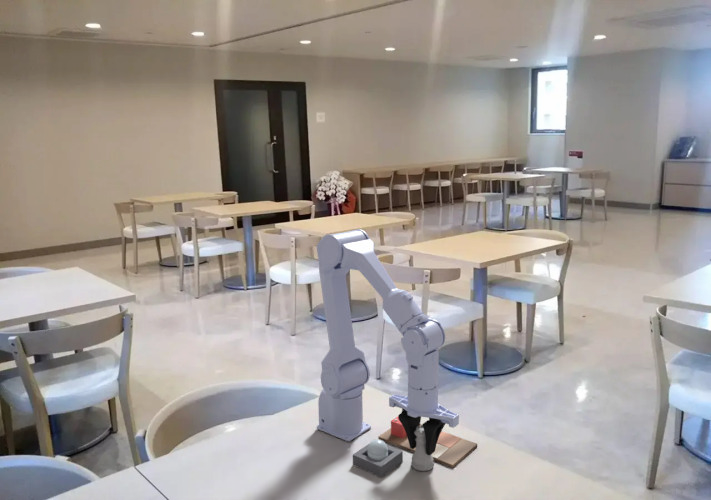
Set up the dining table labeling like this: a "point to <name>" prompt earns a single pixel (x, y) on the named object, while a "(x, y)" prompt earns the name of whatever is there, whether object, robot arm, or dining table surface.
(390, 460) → the dome housing
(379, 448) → the dome button
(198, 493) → the dining table surface
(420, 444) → the rook chess piece
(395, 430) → the red die
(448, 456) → the game board
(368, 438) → the dining table surface
